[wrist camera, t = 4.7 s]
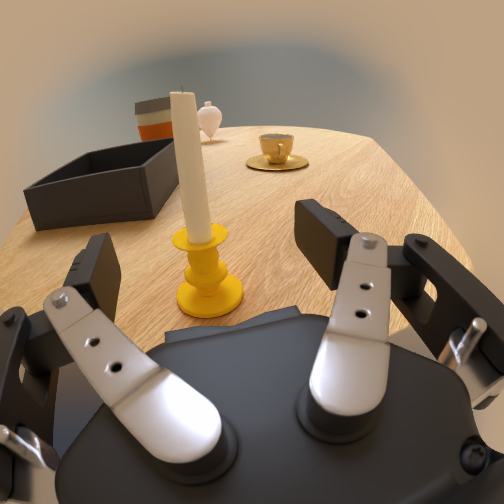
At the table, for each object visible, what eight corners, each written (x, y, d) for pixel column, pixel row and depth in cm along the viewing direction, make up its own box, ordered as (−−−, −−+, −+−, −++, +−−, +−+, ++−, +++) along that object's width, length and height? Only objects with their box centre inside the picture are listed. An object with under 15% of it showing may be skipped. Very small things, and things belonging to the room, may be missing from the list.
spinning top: (199, 139, 85) (196, 102, 79) (224, 137, 85) (221, 99, 79) (196, 144, 78) (192, 103, 72) (223, 141, 78) (219, 100, 72)
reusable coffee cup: (138, 169, 60) (128, 104, 52) (146, 157, 70) (138, 102, 62) (193, 160, 61) (186, 94, 53) (193, 149, 72) (187, 94, 64)
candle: (248, 277, 25) (233, 78, 16) (236, 322, 20) (210, 76, 12) (189, 274, 25) (160, 88, 17) (168, 314, 21) (119, 93, 13)
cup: (242, 158, 59) (241, 133, 57) (298, 154, 60) (298, 130, 58) (250, 174, 49) (248, 144, 46) (317, 169, 50) (317, 140, 47)
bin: (36, 231, 37) (23, 190, 33) (93, 183, 55) (86, 152, 51) (154, 218, 36) (144, 166, 32) (187, 170, 54) (183, 135, 51)
